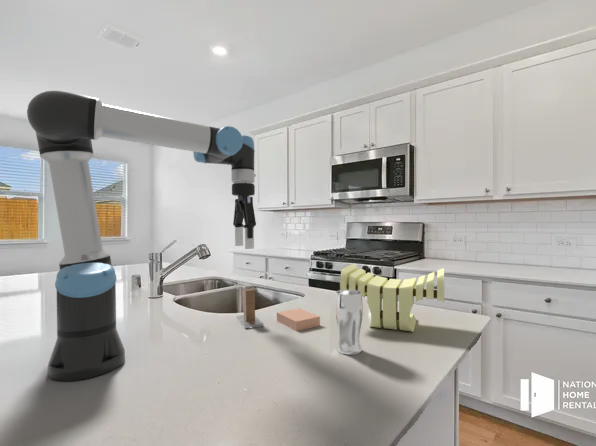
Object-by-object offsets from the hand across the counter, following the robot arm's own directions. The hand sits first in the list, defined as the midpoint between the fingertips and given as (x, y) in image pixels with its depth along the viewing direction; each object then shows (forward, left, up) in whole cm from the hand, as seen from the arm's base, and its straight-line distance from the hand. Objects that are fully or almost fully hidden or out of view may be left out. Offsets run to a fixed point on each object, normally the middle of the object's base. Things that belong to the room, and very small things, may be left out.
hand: (244, 247), depth 110 cm
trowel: (-2, -1, -25) cm, 25 cm away
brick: (-4, -14, -23) cm, 28 cm away
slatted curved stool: (-24, -42, -25) cm, 54 cm away
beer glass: (-36, -18, -25) cm, 47 cm away
